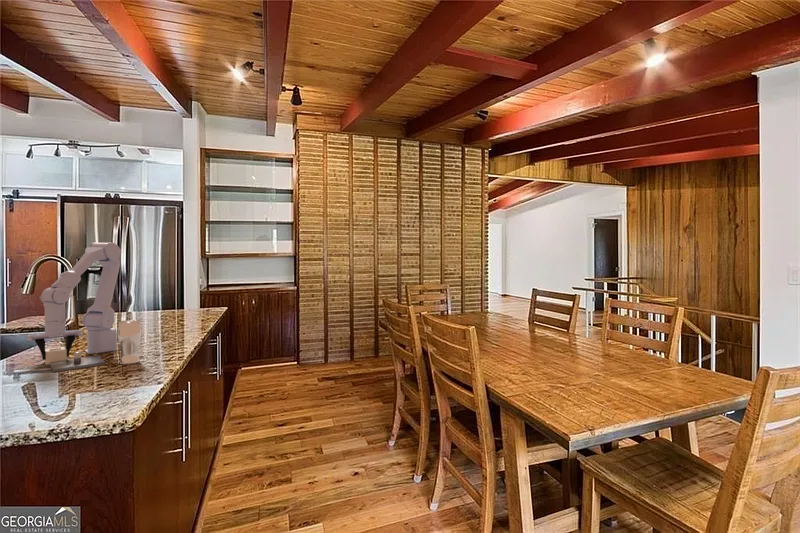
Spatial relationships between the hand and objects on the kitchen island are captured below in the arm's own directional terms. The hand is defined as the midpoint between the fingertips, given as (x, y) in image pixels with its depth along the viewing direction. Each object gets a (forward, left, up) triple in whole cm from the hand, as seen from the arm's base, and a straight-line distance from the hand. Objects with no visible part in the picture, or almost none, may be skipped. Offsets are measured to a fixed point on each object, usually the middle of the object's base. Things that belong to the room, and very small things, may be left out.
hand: (55, 357), depth 145 cm
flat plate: (-5, +10, -1) cm, 12 cm away
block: (0, 0, -1) cm, 1 cm away
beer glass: (-19, +18, -2) cm, 27 cm away
